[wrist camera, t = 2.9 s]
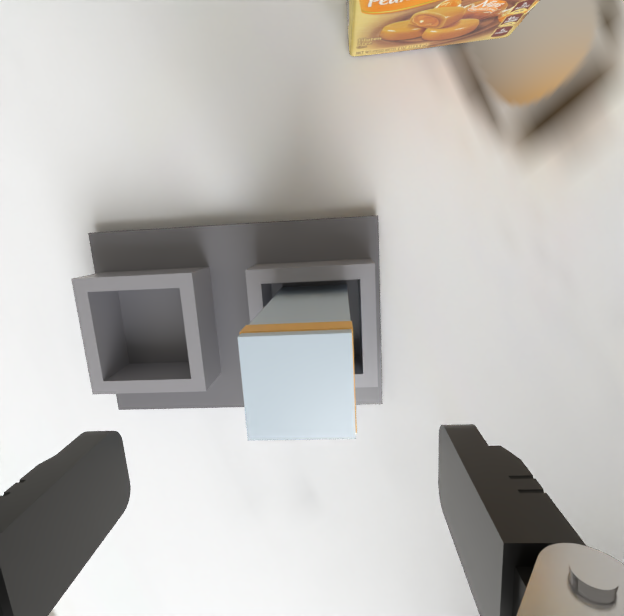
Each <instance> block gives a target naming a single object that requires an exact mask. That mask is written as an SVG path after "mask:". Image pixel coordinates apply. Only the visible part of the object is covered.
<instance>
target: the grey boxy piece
mask: <svg viewBox="0 0 624 616" xmlns="http://www.w3.org/2000/svg"><path fill="white" fill-rule="evenodd" d="M88 234H89V240H90V245H91V251H92V257H93V263H94V269H95V274H92V275H87V276H82V277H78V278H73V279H72V285H73V290H74V296H75V301H76V306H77V312H78V317H79V322H80V328H81V333H82V339H83V344H84V349H85V355H86V360H87V366H88V371H89V376H90V382H91V387H92V392H93V394H116V396H117V402H118V408H119V410H125V409H171V408H217V407H244V397H243V387H242V377H241V367H240V357H239V347H238V336H239V335H240V331H241V330H242V329H243V328H244V327H245V325H249V324H250V323H251V322H252V320H253V319H254V318H255V317H256V316H257V315H258V314H259V313H260V312H261V310H262V309H263V308H264V307H265V306H266V305H267V304H268V303H269V302H270V300H271V299H272V298H273V297H274V296H275V295H276V294H277V293H278V292H279V290H280V289H281V288H282V287H298V286H319V285H341V284H347V291H348V301H349V310H350V320H351V321H352V325H353V345H354V372H355V399H356V404H382V369H381V324H380V280H379V235H378V216H363V217H347V218H330V219H313V220H297V221H280V222H263V223H247V224H230V225H213V226H197V227H180V228H163V229H147V230H130V231H114V232H97V233H88Z"/></svg>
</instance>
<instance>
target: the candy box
mask: <svg viewBox="0 0 624 616" xmlns="http://www.w3.org/2000/svg"><path fill="white" fill-rule="evenodd" d="M539 1H540V0H347V19H348V39H349V52H350V55H351V56H363V55H372V54H382V53H390V52H398V51H406V50H414V49H422V48H429V47H436V46H444V45H451V44H458V43H466V42H473V41H480V40H487V39H497V38H504V37H507V36H509V35H510V34H511V33H512V32H513V31H514V29H515V28H516V27H517V26H518V25H519V24H520V23H521V22H522V20H523V19H524V18H525V16H526V15H527V14H528V13H529V12H530V11H531V10H532V9H533V8H534V6H535V5H536V4H537V3H538V2H539Z"/></svg>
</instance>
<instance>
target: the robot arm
mask: <svg viewBox="0 0 624 616" xmlns="http://www.w3.org/2000/svg"><path fill="white" fill-rule="evenodd" d="M438 484H439V495H440V502H441V506H442V510H443V513H444V516H445V519H446V522H447V525H448V527H449V530H450V533H451V536H452V539H453V541H454V544H455V547H456V550H457V553H458V555H459V558H460V561H461V564H462V566H463V569H464V572H465V575H466V578H467V580H468V583H469V586H470V589H471V592H472V594H473V597H474V600H475V603H476V606H477V608H478V611H479V614H480V616H624V564H623V563H621V562H620V561H618V560H617V559H615V558H613V557H612V556H610V555H608V554H606V553H604V552H601V551H599V550H597V549H594V548H591V547H588V546H586V545H585V544H584V542H583V541H582V540H581V538H580V537H579V536H578V534H577V533H576V532H575V530H574V529H573V528H572V526H571V525H570V524H569V522H568V521H567V520H566V519H565V517H564V516H563V515H562V513H561V512H560V511H559V509H558V508H557V507H556V505H555V504H554V503H553V501H552V500H551V499H550V498H549V496H548V495H547V494H546V493H544V491H543V488H542V487H541V486H540V484H539V483H538V482H537V480H536V479H533V475H532V474H531V473H530V471H529V470H528V469H527V467H526V466H525V465H524V463H523V462H522V461H521V459H519V458H518V457H516V456H515V455H513V454H512V453H510V452H509V451H508V450H506V449H505V448H503V447H502V446H488V444H487V443H486V441H485V440H484V438H483V437H482V435H481V434H480V432H479V431H478V429H477V428H476V427H475V425H473V424H469V425H441V426H440V429H439V477H438ZM129 497H130V480H129V475H128V469H127V464H126V458H125V453H124V447H123V441H122V438H121V435H120V434H119V433H118V432H116V431H90V432H84V433H82V434H81V435H80V436H78V437H77V438H76V439H75V440H73V441H72V442H71V443H70V444H69V445H67V446H66V447H65V448H64V449H63V450H61V451H60V452H59V453H58V454H57V455H55V456H53V457H52V458H50V459H48V460H46V461H44V462H42V463H41V464H39V465H37V466H36V467H35V468H34V469H32V470H31V471H30V472H29V473H27V474H26V475H25V476H24V477H23V478H21V479H20V482H19V483H15V484H14V485H13V486H11V487H10V488H9V489H8V490H7V491H5V492H4V495H3V496H0V616H48V615H49V613H50V612H51V611H52V609H53V608H54V606H55V605H56V604H57V602H58V601H59V600H60V598H61V597H62V596H63V594H64V593H65V592H66V590H67V589H68V587H69V586H70V585H71V583H72V582H73V581H74V579H75V578H76V577H77V575H78V574H79V573H80V571H81V570H82V568H83V567H84V566H85V564H86V563H87V562H88V560H89V559H90V558H91V556H92V555H93V553H94V552H95V551H96V549H97V548H98V547H99V545H100V544H101V543H102V541H103V540H104V539H105V537H106V536H107V534H108V533H109V532H110V530H111V529H112V528H113V526H114V525H115V524H116V522H117V521H118V519H119V518H120V517H121V515H122V514H123V513H124V511H125V509H126V507H127V505H128V501H129Z"/></svg>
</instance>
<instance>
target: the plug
mask: <svg viewBox="0 0 624 616" xmlns="http://www.w3.org/2000/svg"><path fill="white" fill-rule="evenodd" d="M238 347H239V357H240V367H241V377H242V387H243V397H244V407H245V417H246V426H247V436H248V440H311V439H356V433H357V425H356V399H355V372H354V345H353V325H352V321H351V320H350V310H349V301H348V291H347V284H341V285H319V286H298V287H282V288H281V289H280V290H279V292H278V293H277V294H276V295H275V296H274V297H273V298H272V299H271V300H270V302H269V303H268V304H267V305H266V306H265V307H264V308H263V309H262V310H261V312H260V313H259V314H258V315H257V316H256V317H255V318H254V319H253V320H252V322H251V323H250V324H249V325H245V327H244V328H243V329H242V330H241V331H240V335H239V336H238Z"/></svg>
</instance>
